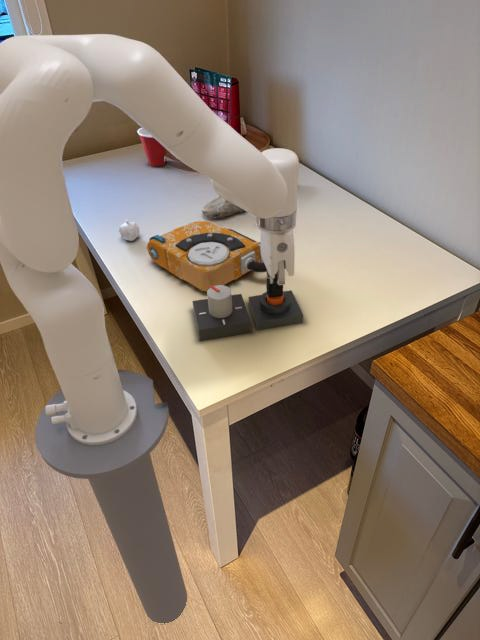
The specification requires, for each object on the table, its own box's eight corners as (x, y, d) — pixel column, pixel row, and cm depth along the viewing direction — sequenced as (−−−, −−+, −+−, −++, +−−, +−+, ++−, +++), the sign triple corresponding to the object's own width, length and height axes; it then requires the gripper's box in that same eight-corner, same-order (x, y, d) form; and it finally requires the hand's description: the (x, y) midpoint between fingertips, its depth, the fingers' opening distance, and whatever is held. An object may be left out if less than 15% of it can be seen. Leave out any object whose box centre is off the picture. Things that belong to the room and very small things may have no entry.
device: (208, 203, 131) (292, 241, 114) (211, 230, 136) (291, 270, 119) (140, 234, 119) (222, 282, 102) (145, 262, 125) (224, 312, 108)
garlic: (122, 233, 137) (118, 216, 133) (141, 231, 137) (138, 215, 134) (120, 244, 132) (116, 227, 129) (140, 242, 132) (136, 225, 129)
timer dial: (237, 310, 103) (236, 290, 100) (219, 321, 101) (217, 301, 97) (221, 300, 106) (220, 280, 103) (204, 310, 104) (202, 290, 100)
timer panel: (199, 340, 101) (198, 329, 99) (193, 311, 109) (192, 300, 107) (251, 332, 102) (250, 321, 100) (241, 304, 110) (241, 292, 108)
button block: (257, 329, 103) (257, 315, 100) (248, 304, 110) (248, 290, 107) (302, 322, 104) (303, 308, 102) (291, 297, 111) (291, 283, 108)
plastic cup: (174, 167, 171) (169, 133, 163) (143, 171, 170) (137, 136, 162) (171, 156, 179) (167, 123, 171) (142, 159, 178) (136, 126, 170)
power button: (269, 307, 103) (269, 300, 102) (265, 297, 106) (265, 290, 105) (285, 304, 104) (285, 298, 103) (281, 294, 106) (281, 288, 105)
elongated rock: (303, 193, 155) (282, 185, 161) (304, 177, 152) (282, 169, 158) (215, 224, 137) (195, 213, 144) (213, 206, 134) (193, 196, 141)
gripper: (307, 233, 87) (301, 313, 98) (284, 197, 98) (282, 273, 110) (266, 239, 86) (265, 319, 97) (248, 202, 97) (250, 277, 109)
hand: (274, 294), depth 104 cm, fingers closed
